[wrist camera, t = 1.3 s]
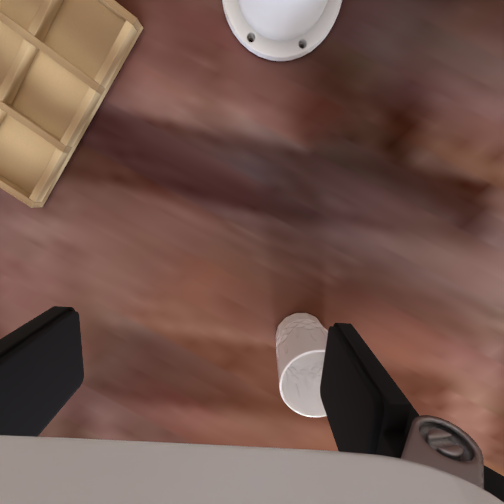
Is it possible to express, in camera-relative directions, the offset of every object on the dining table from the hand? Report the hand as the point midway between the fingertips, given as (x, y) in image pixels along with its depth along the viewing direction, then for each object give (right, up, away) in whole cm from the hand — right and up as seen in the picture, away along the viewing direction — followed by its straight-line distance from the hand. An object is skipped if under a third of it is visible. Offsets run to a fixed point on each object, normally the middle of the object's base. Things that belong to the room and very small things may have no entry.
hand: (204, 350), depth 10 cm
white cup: (+8, -8, +28) cm, 30 cm away
